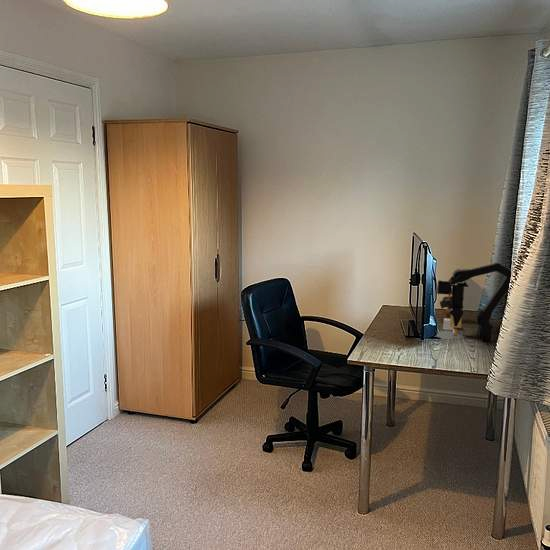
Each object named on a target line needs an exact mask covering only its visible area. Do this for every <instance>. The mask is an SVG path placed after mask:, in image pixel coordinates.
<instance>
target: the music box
mask: <svg viewBox="0 0 550 550" xmlns="http://www.w3.org/2000/svg"><path fill="white" fill-rule="evenodd" d="M446 295H447V296H444V297H442V299H441V301H442V300H447V299H451V296H452V287H451V293H449V294H446ZM450 309H451V307H450V306H448V307H446V310H445V312H444V313H441V314H440V315H439V322H440V323H442V324H443V323H444V318H447V319H450V317H451V314H450Z"/></svg>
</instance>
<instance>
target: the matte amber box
mask: <svg viewBox="0 0 550 550" xmlns="http://www.w3.org/2000/svg"><path fill="white" fill-rule="evenodd" d="M462 317H463V316H462ZM462 317H461V319H460V321H459V323H458V325H457V326H454V319H453V316H452V315H451V317H450V327H454V328H457V329H459V328H460V329H461V328H462Z"/></svg>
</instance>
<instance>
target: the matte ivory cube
mask: <svg viewBox="0 0 550 550" xmlns="http://www.w3.org/2000/svg"><path fill="white" fill-rule="evenodd" d="M442 324H443V325H442V327H443V328H442V330H446V331H453V329H455V327H450V319H447V318H444V323H443V322H442Z"/></svg>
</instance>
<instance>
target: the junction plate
mask: <svg viewBox="0 0 550 550" xmlns="http://www.w3.org/2000/svg"><path fill="white" fill-rule="evenodd" d="M437 332H438V334H437V336H435V337H436V338H440V339H442V340H451V339H461V338H466V336H464V335H462V334H459V333H458V328H454V329H453V330H452V331H451V330H441V331H440V330H439V331H437Z"/></svg>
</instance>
